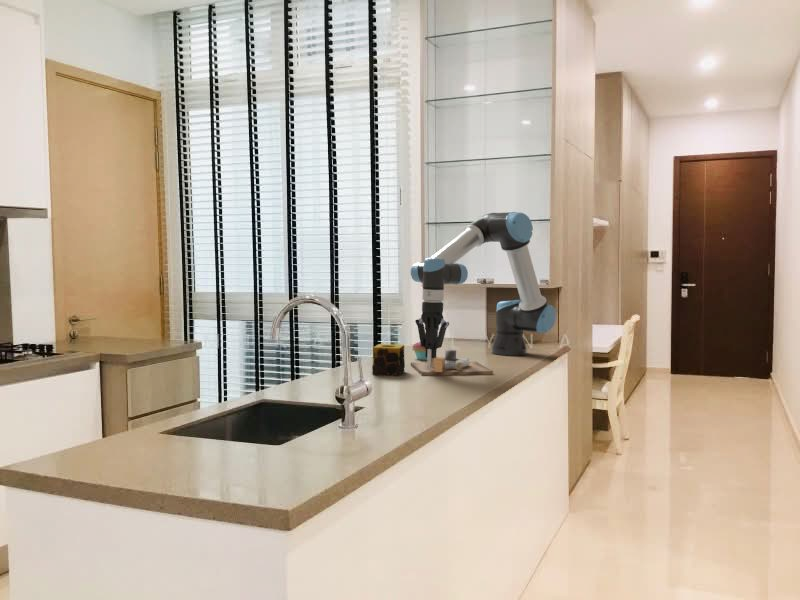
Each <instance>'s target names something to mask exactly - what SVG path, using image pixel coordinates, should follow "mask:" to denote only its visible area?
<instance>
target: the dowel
mask: <svg viewBox="0 0 800 600" xmlns="http://www.w3.org/2000/svg"><path fill="white" fill-rule="evenodd" d="M456 371H462V362H456Z"/></svg>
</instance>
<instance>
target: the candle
mask: <svg viewBox="0 0 800 600" xmlns="http://www.w3.org/2000/svg"><path fill="white" fill-rule="evenodd" d="M372 353H373V356H372V359H373V360H372V368H371V369H372V370H371V371H372V372H371V373H372V375H374V376H392V377H393V376H395V377H400V376H401V375H403V373H405V368H406V364H405V363H406V362H405V345H404V344H394V343H393V344H389V343H387V344H386V343H379V344H376V345H375V346H373V347H372Z"/></svg>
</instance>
